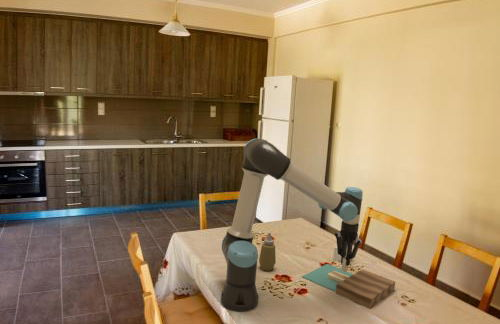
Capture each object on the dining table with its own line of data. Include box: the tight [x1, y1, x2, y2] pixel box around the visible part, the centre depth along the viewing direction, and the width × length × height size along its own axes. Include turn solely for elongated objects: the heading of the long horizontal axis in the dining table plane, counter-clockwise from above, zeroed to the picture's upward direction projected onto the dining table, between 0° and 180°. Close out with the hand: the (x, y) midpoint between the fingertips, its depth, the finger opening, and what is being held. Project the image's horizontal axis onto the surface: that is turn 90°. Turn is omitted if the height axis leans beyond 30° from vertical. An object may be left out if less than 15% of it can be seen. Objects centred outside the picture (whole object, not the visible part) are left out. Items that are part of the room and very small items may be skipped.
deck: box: [335, 268, 396, 309], centre depth 170 cm, size 24×16×4 cm, turn 137°
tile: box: [327, 271, 349, 283], centre depth 179 cm, size 6×9×2 cm, turn 48°
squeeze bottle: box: [258, 232, 277, 272], centre depth 186 cm, size 8×8×18 cm
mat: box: [301, 263, 355, 293], centre depth 182 cm, size 22×18×1 cm
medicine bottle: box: [332, 236, 348, 263], centre depth 203 cm, size 7×7×12 cm
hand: (344, 271), depth 177 cm, fingers closed
